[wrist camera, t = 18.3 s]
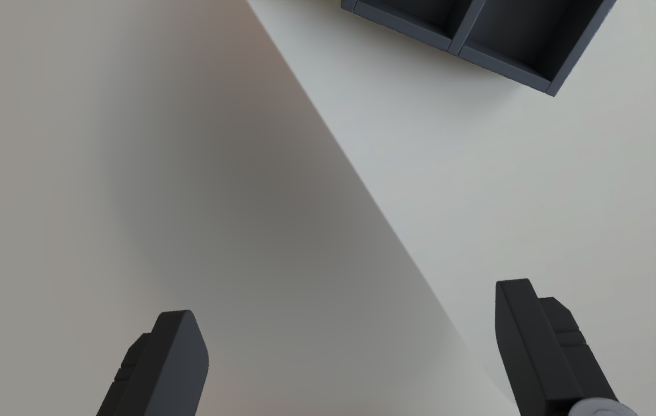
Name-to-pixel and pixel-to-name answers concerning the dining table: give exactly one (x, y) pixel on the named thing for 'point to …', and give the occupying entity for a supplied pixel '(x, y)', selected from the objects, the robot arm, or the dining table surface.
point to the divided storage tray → (498, 32)
